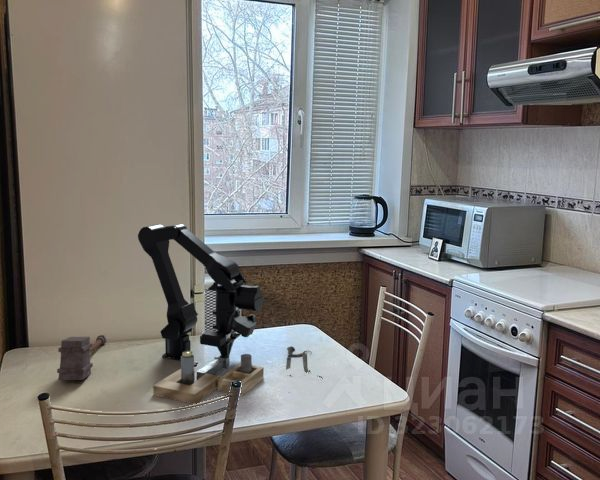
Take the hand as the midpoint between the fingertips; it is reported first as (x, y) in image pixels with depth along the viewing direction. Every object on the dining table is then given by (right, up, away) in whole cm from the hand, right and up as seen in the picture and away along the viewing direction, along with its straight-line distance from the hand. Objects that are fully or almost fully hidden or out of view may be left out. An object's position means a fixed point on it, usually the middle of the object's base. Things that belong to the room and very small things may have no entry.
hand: (225, 359), depth 164 cm
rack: (+6, -4, -13) cm, 15 cm away
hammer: (-39, -1, 0) cm, 39 cm away
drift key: (-3, -2, -6) cm, 7 cm away
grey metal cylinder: (-7, -4, -18) cm, 19 cm away
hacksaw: (+22, -2, +2) cm, 22 cm away
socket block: (-7, -4, -18) cm, 19 cm away
